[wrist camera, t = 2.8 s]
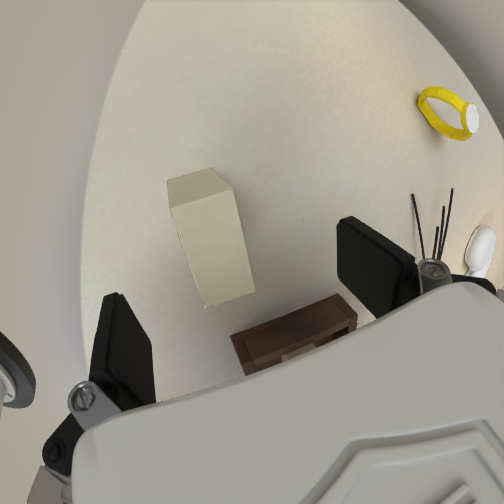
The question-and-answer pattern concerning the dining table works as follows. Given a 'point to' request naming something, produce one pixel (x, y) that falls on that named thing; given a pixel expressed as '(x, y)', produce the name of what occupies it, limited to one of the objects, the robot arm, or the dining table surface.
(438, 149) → the dining table surface
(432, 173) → the dining table surface
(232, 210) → the cream rectangular block
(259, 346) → the tray
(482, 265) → the sculpture
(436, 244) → the reed diffuser
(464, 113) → the watch
